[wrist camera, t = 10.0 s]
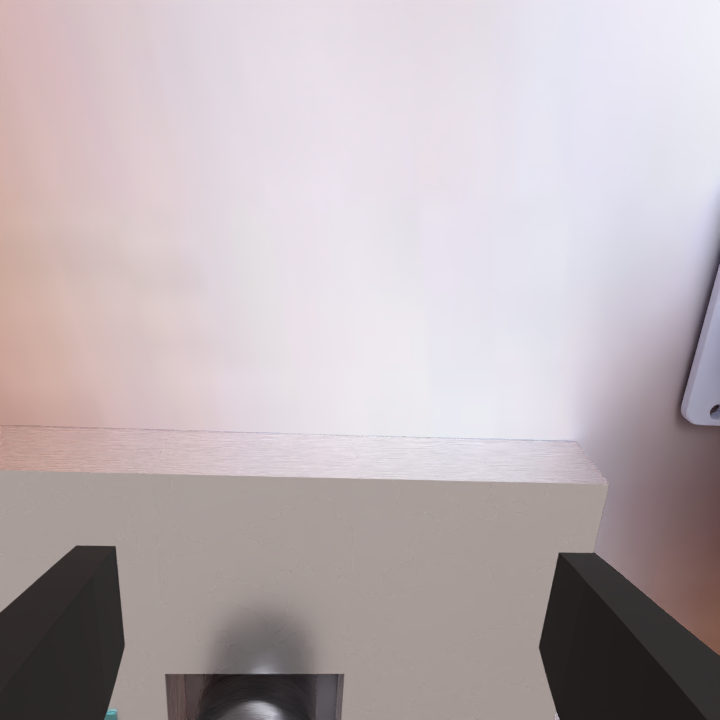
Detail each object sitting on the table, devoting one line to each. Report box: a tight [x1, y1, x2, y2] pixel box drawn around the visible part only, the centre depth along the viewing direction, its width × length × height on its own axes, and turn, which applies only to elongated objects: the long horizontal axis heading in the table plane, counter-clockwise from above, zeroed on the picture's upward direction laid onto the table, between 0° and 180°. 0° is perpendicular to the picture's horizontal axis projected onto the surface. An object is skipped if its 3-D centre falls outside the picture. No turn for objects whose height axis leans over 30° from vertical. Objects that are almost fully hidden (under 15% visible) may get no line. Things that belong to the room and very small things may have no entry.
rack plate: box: [0, 426, 609, 720], centre depth 21 cm, size 20×16×3 cm
